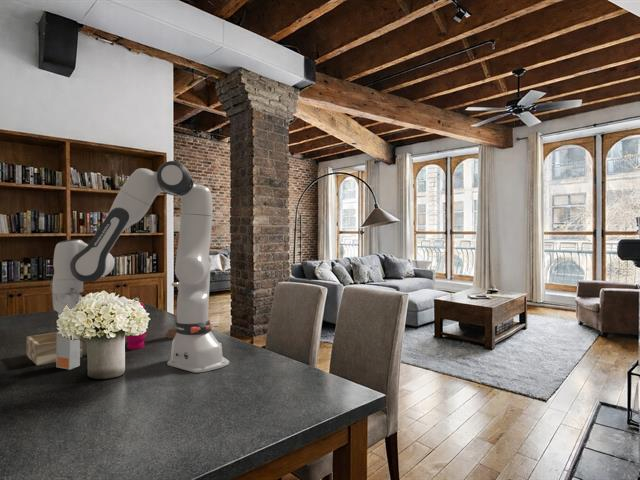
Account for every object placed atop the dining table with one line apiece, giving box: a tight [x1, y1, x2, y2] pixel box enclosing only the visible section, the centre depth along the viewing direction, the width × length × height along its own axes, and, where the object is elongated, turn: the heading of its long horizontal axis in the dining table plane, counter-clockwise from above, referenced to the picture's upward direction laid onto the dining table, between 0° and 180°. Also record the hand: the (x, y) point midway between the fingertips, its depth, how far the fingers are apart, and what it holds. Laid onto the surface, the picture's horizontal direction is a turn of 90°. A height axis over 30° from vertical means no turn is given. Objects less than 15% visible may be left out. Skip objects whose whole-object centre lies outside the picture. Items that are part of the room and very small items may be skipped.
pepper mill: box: [125, 297, 147, 350], centre depth 161 cm, size 7×7×20 cm
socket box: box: [25, 331, 84, 366], centre depth 148 cm, size 16×14×7 cm
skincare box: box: [55, 331, 81, 371], centre depth 136 cm, size 6×4×12 cm
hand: (66, 327), depth 136 cm, fingers open, 8 cm apart
